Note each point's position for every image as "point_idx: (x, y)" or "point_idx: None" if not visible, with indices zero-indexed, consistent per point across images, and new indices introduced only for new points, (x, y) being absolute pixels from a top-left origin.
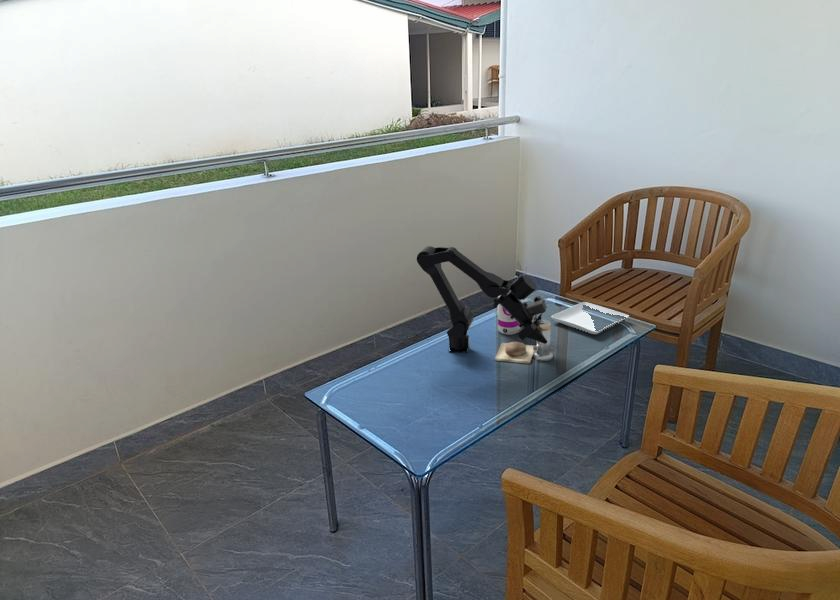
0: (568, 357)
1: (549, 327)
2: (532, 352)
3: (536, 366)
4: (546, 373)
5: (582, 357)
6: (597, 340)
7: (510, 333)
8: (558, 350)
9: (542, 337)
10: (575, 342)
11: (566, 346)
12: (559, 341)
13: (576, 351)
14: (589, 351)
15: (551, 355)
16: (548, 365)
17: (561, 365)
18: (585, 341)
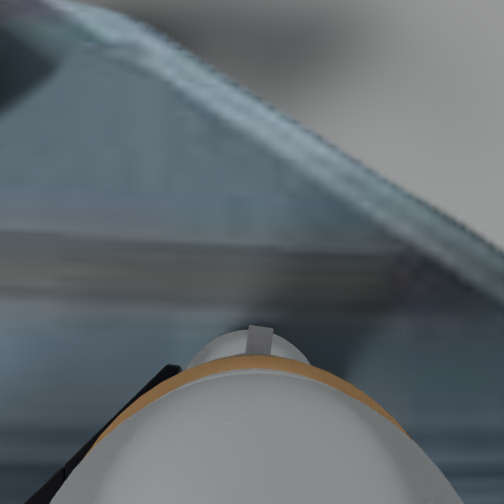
0: (248, 235)
1: (361, 392)
2: None
3: None
4: (482, 375)
5: (243, 162)
6: (36, 80)
7: None
8: (153, 292)
9: None
10: (47, 187)
11: (98, 241)
12: (19, 282)
13: (168, 188)
14: (169, 125)
15: (286, 340)
16: (371, 361)
17: (356, 278)
18: (41, 136)
